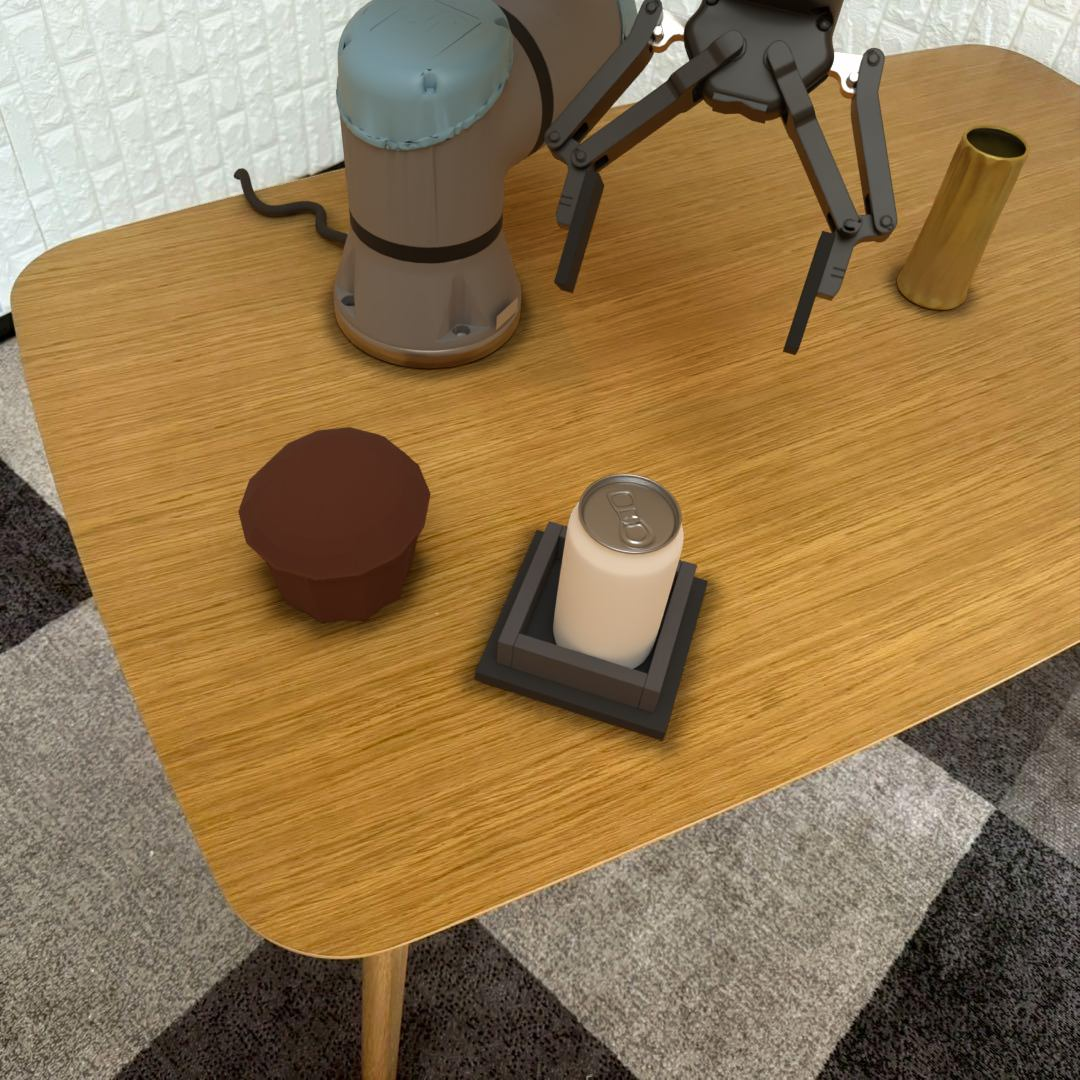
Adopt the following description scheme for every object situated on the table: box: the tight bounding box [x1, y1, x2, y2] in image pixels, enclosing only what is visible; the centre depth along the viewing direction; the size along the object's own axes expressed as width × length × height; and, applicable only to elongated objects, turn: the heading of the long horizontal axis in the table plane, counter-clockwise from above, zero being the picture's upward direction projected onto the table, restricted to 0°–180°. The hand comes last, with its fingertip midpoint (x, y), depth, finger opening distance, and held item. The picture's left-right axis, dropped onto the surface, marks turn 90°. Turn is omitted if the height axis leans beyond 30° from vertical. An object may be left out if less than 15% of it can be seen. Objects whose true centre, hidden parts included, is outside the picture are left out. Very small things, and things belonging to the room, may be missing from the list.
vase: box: [896, 124, 1031, 311], centre depth 85 cm, size 6×6×14 cm
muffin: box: [237, 426, 432, 624], centre depth 63 cm, size 12×11×10 cm
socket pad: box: [474, 520, 709, 741], centre depth 64 cm, size 12×12×4 cm
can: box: [553, 473, 685, 669], centre depth 59 cm, size 6×6×12 cm
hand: (674, 319), depth 59 cm, fingers open, 13 cm apart
